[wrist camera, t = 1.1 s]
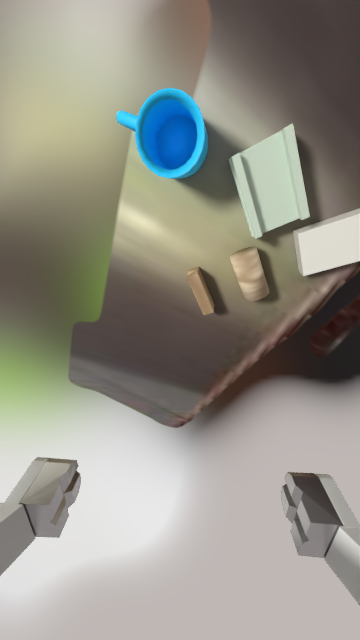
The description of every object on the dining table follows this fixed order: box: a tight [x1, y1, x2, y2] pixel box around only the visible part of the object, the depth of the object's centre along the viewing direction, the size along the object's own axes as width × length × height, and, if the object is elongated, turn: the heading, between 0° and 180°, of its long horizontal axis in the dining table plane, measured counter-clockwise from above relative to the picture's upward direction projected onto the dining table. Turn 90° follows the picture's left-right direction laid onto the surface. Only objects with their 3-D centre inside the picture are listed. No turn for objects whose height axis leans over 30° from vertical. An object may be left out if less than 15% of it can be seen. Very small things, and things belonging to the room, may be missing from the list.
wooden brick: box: [187, 267, 214, 315], centre depth 43 cm, size 2×8×4 cm, turn 25°
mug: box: [117, 88, 208, 179], centre depth 30 cm, size 12×8×8 cm
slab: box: [293, 209, 360, 276], centre depth 36 cm, size 10×7×3 cm
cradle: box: [228, 124, 310, 239], centre depth 32 cm, size 8×11×4 cm
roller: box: [230, 247, 269, 301], centre depth 39 cm, size 4×8×4 cm, turn 25°
